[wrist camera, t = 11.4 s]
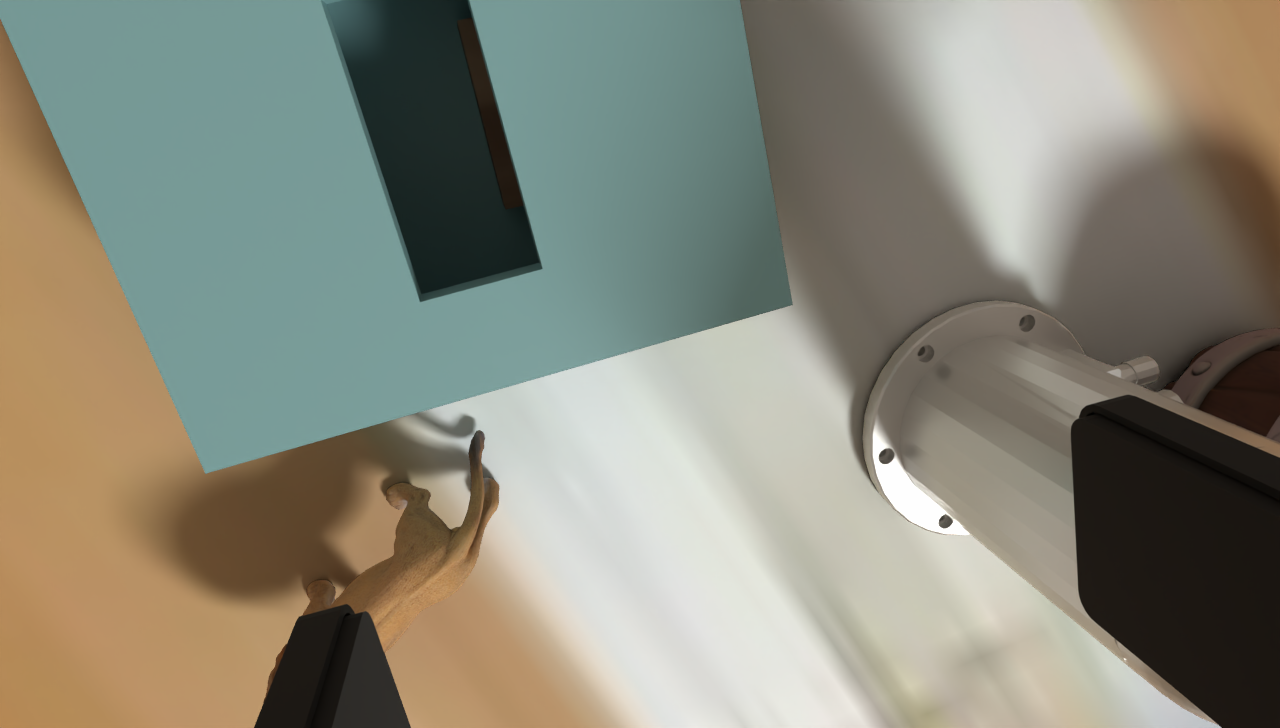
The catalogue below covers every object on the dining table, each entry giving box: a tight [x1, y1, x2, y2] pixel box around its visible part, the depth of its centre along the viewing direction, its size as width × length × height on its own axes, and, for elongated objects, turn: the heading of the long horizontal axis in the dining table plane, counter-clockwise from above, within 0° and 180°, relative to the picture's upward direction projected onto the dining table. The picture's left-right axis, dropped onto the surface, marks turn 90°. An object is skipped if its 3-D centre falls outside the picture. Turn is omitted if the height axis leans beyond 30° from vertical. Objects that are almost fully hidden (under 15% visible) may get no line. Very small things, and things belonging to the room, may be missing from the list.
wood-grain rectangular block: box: [457, 18, 524, 210], centre depth 33 cm, size 2×6×7 cm
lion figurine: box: [264, 430, 499, 701], centre depth 35 cm, size 15×5×9 cm, turn 145°
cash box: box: [0, 0, 793, 474], centre depth 30 cm, size 20×16×10 cm
